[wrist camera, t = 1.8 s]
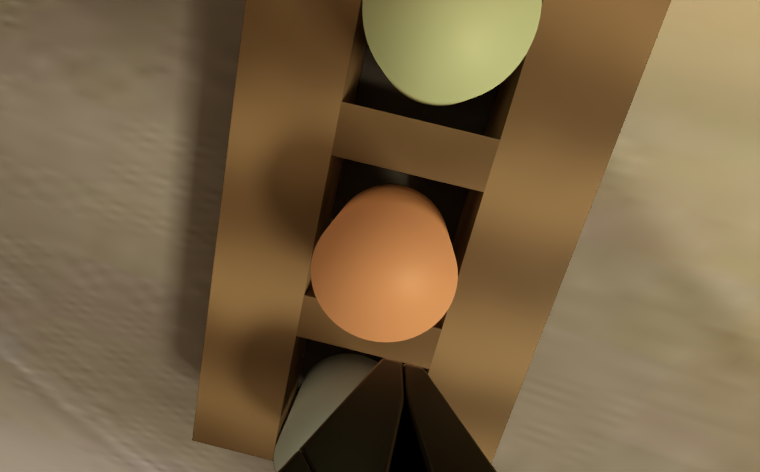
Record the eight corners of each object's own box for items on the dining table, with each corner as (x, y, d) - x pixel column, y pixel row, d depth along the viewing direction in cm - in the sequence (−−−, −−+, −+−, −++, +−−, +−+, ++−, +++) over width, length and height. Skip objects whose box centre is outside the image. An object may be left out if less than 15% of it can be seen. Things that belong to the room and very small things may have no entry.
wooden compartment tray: (464, 454, 23) (472, 511, 20) (223, 394, 24) (192, 440, 20) (634, -17, 16) (691, -51, 13) (294, -97, 17) (263, -151, 13)
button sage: (486, 119, 16) (509, 119, 12) (362, 89, 16) (346, 80, 12) (527, -22, 14) (568, -72, 10) (392, -54, 14) (384, -115, 11)
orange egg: (430, 305, 18) (435, 357, 14) (323, 279, 18) (299, 323, 14) (462, 200, 17) (476, 224, 13) (346, 171, 17) (325, 187, 13)
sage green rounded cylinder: (388, 450, 20) (382, 528, 16) (293, 426, 20) (265, 498, 16) (412, 368, 19) (412, 431, 15) (310, 342, 19) (284, 399, 15)
